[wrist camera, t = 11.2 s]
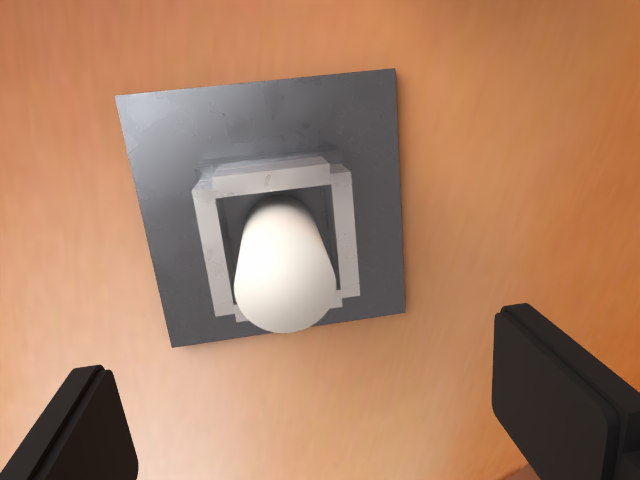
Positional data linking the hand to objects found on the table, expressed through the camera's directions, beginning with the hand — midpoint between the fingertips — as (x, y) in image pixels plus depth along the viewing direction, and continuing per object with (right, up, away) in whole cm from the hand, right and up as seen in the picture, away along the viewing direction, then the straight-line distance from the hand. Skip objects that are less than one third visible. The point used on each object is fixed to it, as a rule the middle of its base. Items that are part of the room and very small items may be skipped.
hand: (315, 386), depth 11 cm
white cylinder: (-2, +4, +14) cm, 15 cm away
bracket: (-3, +5, +18) cm, 19 cm away
